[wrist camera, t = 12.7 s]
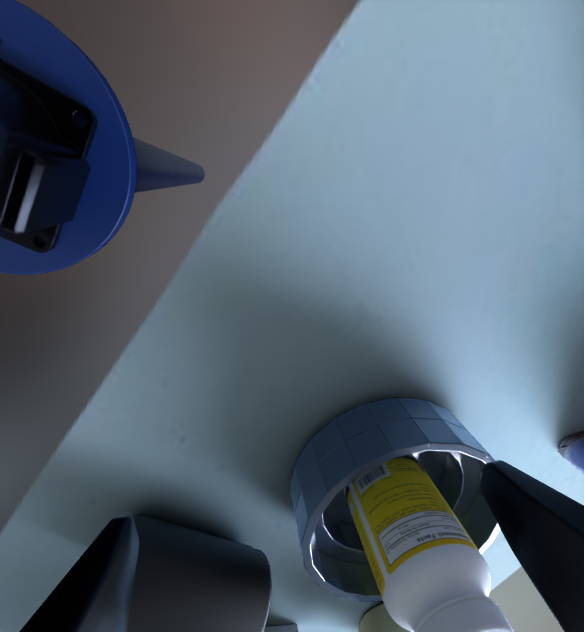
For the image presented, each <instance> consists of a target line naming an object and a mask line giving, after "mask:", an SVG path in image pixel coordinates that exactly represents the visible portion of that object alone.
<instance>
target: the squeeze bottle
mask: <svg viewBox="0 0 584 632" xmlns="http://www.w3.org/2000/svg"><path fill="white" fill-rule="evenodd" d="M359 632H411V631H408V630H406V629H404V628H403V627H401V626H400V625H398V624H397V623H396V622H395V621H394V620H393V619H392V617H391V616H390V615H389V613H388V611H387V609H386V607H385V605H384V603H383V604H381V605H379V606H376V607H374V608H373V609H371V610H370V611H369V612H367V613H366V614H365V615H364V616H363V618H362V619H361V621H360V623H359Z"/></svg>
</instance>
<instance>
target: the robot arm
mask: <svg viewBox="0 0 584 632" xmlns="http://www.w3.org/2000/svg"><path fill="white" fill-rule="evenodd" d="M2 42H3V40H2V39H1V38H0V46H1V44H2ZM82 112H84V113H85V114H86V116H87V118H88V120H87V123H86V124H85V125H81V124H80V123H79V121H78V115H79V114H80V113H82ZM97 124H98V120H97V116H96V115H95V113H94V112H93V111H92V110H91V109H90V108H89V107H87V106H85V105H83V104H81V103H80V102H78V101H76V100H74V99H73V98H71V97H69V96H67V95H66V94H64V93H62V92H60V91H58V90H57V89H55V88H53V87H51V86H50V85H48V84H46V83H44V82H42V81H41V80H39V79H37V78H35V77H34V76H32V75H30V74H28V73H27V72H25V71H23V70H21V69H19V68H18V67H16V66H14V65H12V64H11V63H9V62H7V61H5V60H3V59H2V58H0V237H2V238H5V239H7V240H9V241H12V242H14V243H16V244H19V245H21V246H24V247H26V248H28V249H31V250H33V251H36V252H39V253H46V252H48V251H51V250H52V249H54V248H55V246H56V244H57V241H58V238H59V235H60V232H61V230H62V227H63V224H64V223H67V222H70V221H72V220H73V218H74V215H75V212H76V209H77V207H78V204H79V201H80V198H81V195H82V192H83V190H84V187H85V184H86V181H87V178H88V175H89V173H90V170H91V168H90V166H89V163H88V161H87V160H86V158H87V155H88V152H89V149H90V146H91V143H92V140H93V137H94V134H95V132H96V129H97ZM38 236H42V237H43V238H44V239H45V241H46V245H45V246H43V245H41V244H40V243H39V242H38ZM480 491H481V493H482V496H483V497H484V499H485V501H486V503H487V505H488V507H489V509H490V510H491V512H492V514H493V516H494V518H495V520H496V522H497V523H498V525H499V527H500V529H501V531H502V533H503V535H504V536H505V538H506V540H507V542H508V544H509V546H510V547H511V549H512V551H513V553H514V554H515V556H516V557H517V559H518V561H519V562H520V564H521V565H522V567H523V568H524V570H525V572H526V573H527V574H528V576H529V578H530V579H531V581H532V582H533V584H534V585H535V587H536V588H537V590H538V592H539V593H540V595H541V596H542V598H543V599H544V601H545V602H546V604H547V605H548V606H549V609H550V610H551V612H552V613H553V615H554V616H555V618H556V619H557V621H558V622H559V624H560V625H561V627H562V629H563V630H564V631H565V632H584V505H582V504H580V503H578V502H576V501H575V500H573V499H571V498H569V497H567V496H566V495H564V494H562V493H560V492H558V491H556V490H555V489H553V488H551V487H549V486H547V485H546V484H544V483H542V482H540V481H538V480H537V479H535V478H533V477H531V476H529V475H528V474H526V473H524V472H522V471H520V470H519V469H517V468H515V467H513V466H511V465H509V464H508V463H506V462H504V461H500V460H497V461H491V462H487V463H486V464H485V465H484V469H483V473H482V477H481V480H480ZM138 552H139V538H138V534H137V530H136V527H135V523H134V519H133V517H132V516H130V515H128V516H121V517H115V518H113V519H112V520H111V521H110V522H109V523H108V524H107V525H106V526H105V528H104V529H103V530H102V531H101V533H100V534H99V535H98V536H97V537H96V539H95V540H94V541H93V542H92V544H91V545H90V546H89V547H88V548H87V550H86V551H85V552H84V553H83V555H82V556H81V557H80V558H79V559H78V561H77V562H76V563H75V564H74V566H73V567H72V568H71V569H70V570H69V572H68V573H67V574H66V575H65V577H64V578H63V579H62V580H61V581H60V583H59V584H58V585H57V586H56V588H55V589H54V590H53V591H52V592H51V594H50V595H49V596H48V597H47V599H46V600H45V601H44V602H43V603H42V605H41V606H40V607H39V608H38V610H37V611H36V612H35V613H34V614H33V616H32V617H31V618H30V619H29V621H28V622H27V623H26V624H25V625H24V627H23V628H22V629H21V630H20V632H126V631H127V625H128V619H129V613H130V606H131V599H132V592H133V586H134V579H135V572H136V566H137V559H138Z"/></svg>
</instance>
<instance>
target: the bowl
mask: <svg viewBox="0 0 584 632" xmlns="http://www.w3.org/2000/svg"><path fill="white" fill-rule="evenodd" d="M409 454H412V455H413V456H414V457H415V458H416V459H417V460H418V462H419V463H420V464H421V466H422V467H423V469H424V470H425V471H426V473H427V474H428V476H429V477H430V479H431V480H432V482H433V483H434V485H435V486H436V488H437V489H438V491H439V492H440V494H441V495H442V497H443V498H444V500H445V501H446V503H447V504H448V505H449V507H450V508H451V510H452V511H453V513H454V514H455V516H456V517H457V519H458V520H459V522H460V523H461V525H462V526H463V528H464V529H465V531H466V532H467V534H468V535H469V537H470V538H471V540H472V541H473V543H474V544H475V546H476V547H477V548H478V550H479V551H480V553H481V554H482V553H483V552H484V551H485V550H486V549H487V548H488V546H489V545H490V544H491V543H492V542H493V541H494V540H495V538H496V536H497V534H498V532H499V531H500V527H499V525H498V523H497V522H496V520H495V518H494V516H493V514H492V512H491V510H490V509H489V507H488V505H487V503H486V501H485V499H484V497H483V496H482V493H481V491H480V480H481V477H482V473H483V469H484V465H485V464H486V463H487V462H491V461H495V460H494V459H493V457H492V456H491V455H490V454H489V453H488V452H487V451H486V450H485V449H484V448H483V447H482V446H481V445H480V444H479V442H478V441H477V440H476V439H475V438H474V437H473V436H472V435H471V434H470V433H469V432H468V431H467V430H466V429H465V427H464V426H463V425H462V424H461V423H460V422H459V421H458V420H457V419H456V418H455V417H454V416H453V415H452V414H451V413H450V411H449V410H447V409H445V408H443V407H440V406H438V405H436V404H434V403H431V402H429V401H427V400H423V399H410V398H390V399H385V400H380V401H375V402H370V403H366V404H363V405H361V406H359V407H357V408H355V409H352V410H350V411H348V412H346V413H344V414H342V415H340V416H338V417H336V419H334V420H332V421H331V422H330V423H329V424H328V425H327V426H325V427H324V428H323V429H322V430H321V431H320V432H318V433H317V434H316V435H315V436H314V437H313V438H312V439H311V440H310V441H309V443H308V444H307V446H306V447H305V449H304V450H303V452H302V453H301V455H300V456H299V458H298V459H297V461H296V463H295V467H294V471H293V475H292V479H291V483H290V492H291V498H292V504H293V510H294V515H295V520H296V526H297V531H298V536H299V542H300V547H301V552H302V558H303V563H304V567H305V569H306V570H307V572H308V573H309V574H310V576H311V577H312V578H313V580H314V581H315V582H316V583H317V585H318V586H319V587H321V588H323V589H325V590H327V591H329V592H330V593H332V594H334V595H336V596H338V597H341V598H346V599H352V600H358V601H363V602H369V601H383V600H382V597H381V594H380V592H379V589H378V586H377V583H376V580H375V578H374V575H373V572H372V570H371V567H370V564H369V561H368V558H367V556H366V553H365V550H364V547H363V545H362V542H361V539H360V536H359V534H358V531H357V528H356V526H355V523H354V520H353V517H352V515H351V512H350V509H349V506H348V504H347V501H346V498H345V494H344V489H343V488H345V487H346V486H347V485H348V484H350V483H351V482H352V481H353V480H354V479H356V478H357V477H358V476H359V475H361V474H362V473H364V472H366V471H368V470H370V469H372V468H374V467H376V466H379V465H381V464H383V463H385V462H387V461H389V460H391V459H393V458H396V457H401V456H405V455H409Z"/></svg>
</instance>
